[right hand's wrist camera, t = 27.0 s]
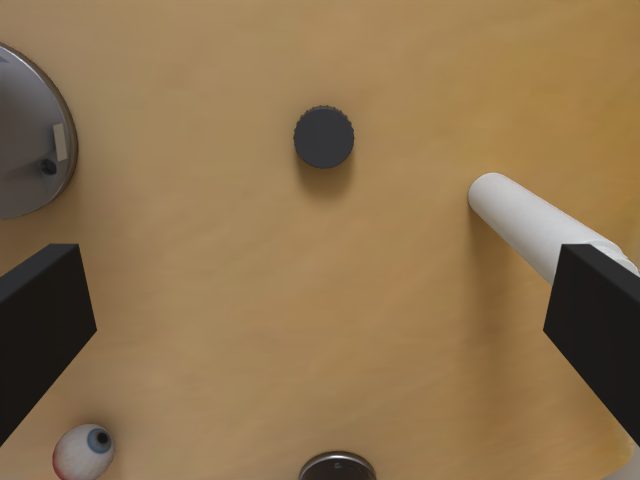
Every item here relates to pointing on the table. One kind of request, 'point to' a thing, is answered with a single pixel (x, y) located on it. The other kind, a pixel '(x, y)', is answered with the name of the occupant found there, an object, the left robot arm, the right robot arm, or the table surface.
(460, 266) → the table surface
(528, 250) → the white cylinder
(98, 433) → the eyeball
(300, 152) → the lid
